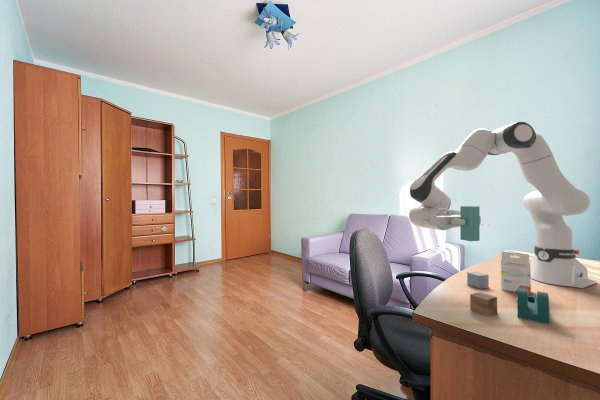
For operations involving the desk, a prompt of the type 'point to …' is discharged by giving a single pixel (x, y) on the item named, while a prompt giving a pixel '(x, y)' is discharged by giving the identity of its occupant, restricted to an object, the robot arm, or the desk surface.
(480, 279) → the slate grey block
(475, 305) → the walnut block
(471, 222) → the teal block
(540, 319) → the bracket
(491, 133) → the robot arm
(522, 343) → the desk surface
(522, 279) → the ink cartridge box
